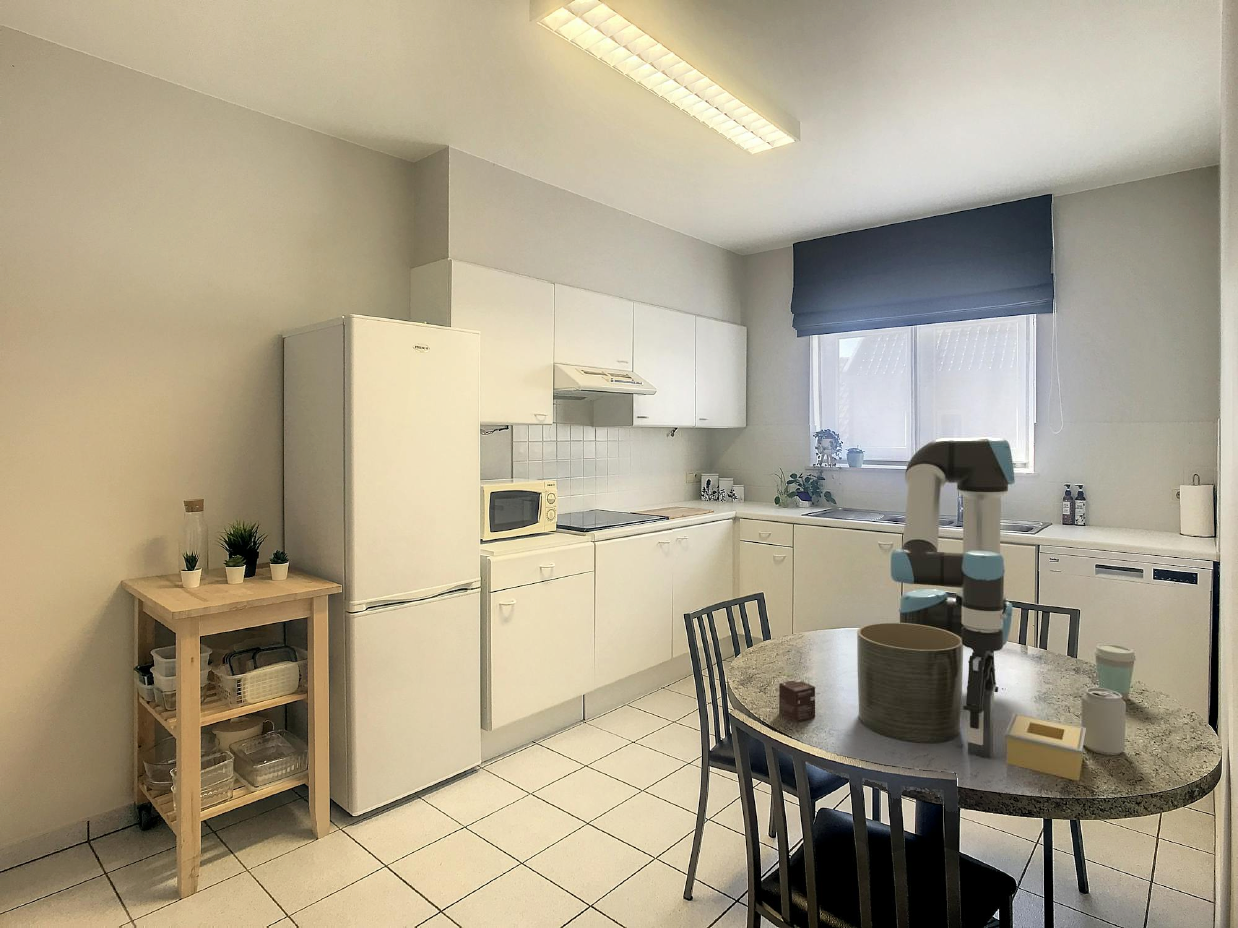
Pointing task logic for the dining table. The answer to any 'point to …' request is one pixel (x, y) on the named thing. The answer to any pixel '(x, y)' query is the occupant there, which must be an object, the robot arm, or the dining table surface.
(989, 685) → the wedge pin
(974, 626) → the robot arm
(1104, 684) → the coffee cup
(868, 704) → the planter
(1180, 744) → the dining table surface
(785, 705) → the box
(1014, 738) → the tan hollow block
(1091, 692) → the can
